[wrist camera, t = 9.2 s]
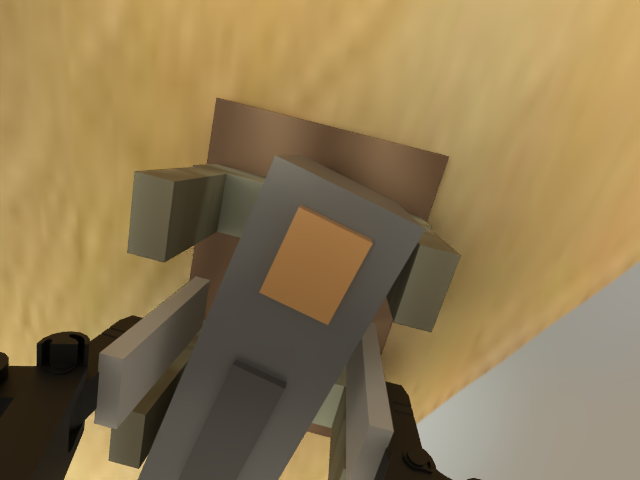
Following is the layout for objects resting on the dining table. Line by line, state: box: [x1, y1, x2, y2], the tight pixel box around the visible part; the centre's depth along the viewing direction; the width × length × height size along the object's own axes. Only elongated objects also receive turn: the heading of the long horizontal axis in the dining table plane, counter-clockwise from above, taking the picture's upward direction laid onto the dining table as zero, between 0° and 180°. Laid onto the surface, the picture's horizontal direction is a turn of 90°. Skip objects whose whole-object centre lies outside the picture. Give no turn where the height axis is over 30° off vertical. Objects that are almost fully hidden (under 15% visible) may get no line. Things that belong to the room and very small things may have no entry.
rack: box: [109, 98, 461, 480], centre depth 17 cm, size 13×20×9 cm, turn 166°
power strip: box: [138, 155, 426, 480], centre depth 14 cm, size 5×16×6 cm, turn 154°
